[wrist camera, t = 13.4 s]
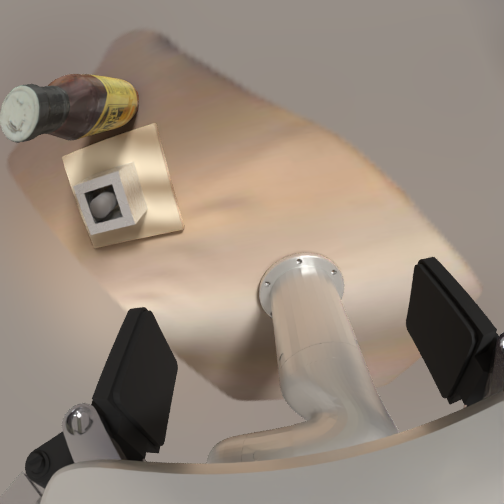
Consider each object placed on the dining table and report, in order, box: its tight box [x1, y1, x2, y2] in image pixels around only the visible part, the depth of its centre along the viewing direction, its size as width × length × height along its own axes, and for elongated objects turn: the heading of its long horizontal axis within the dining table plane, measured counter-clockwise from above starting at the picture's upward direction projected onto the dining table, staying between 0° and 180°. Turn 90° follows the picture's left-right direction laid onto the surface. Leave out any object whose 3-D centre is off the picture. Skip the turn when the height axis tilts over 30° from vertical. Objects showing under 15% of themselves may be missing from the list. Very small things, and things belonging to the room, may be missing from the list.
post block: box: [62, 123, 184, 249], centre depth 33 cm, size 14×14×7 cm
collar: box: [73, 161, 148, 235], centre depth 33 cm, size 6×6×5 cm
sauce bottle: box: [0, 74, 139, 143], centre depth 22 cm, size 7×6×20 cm
